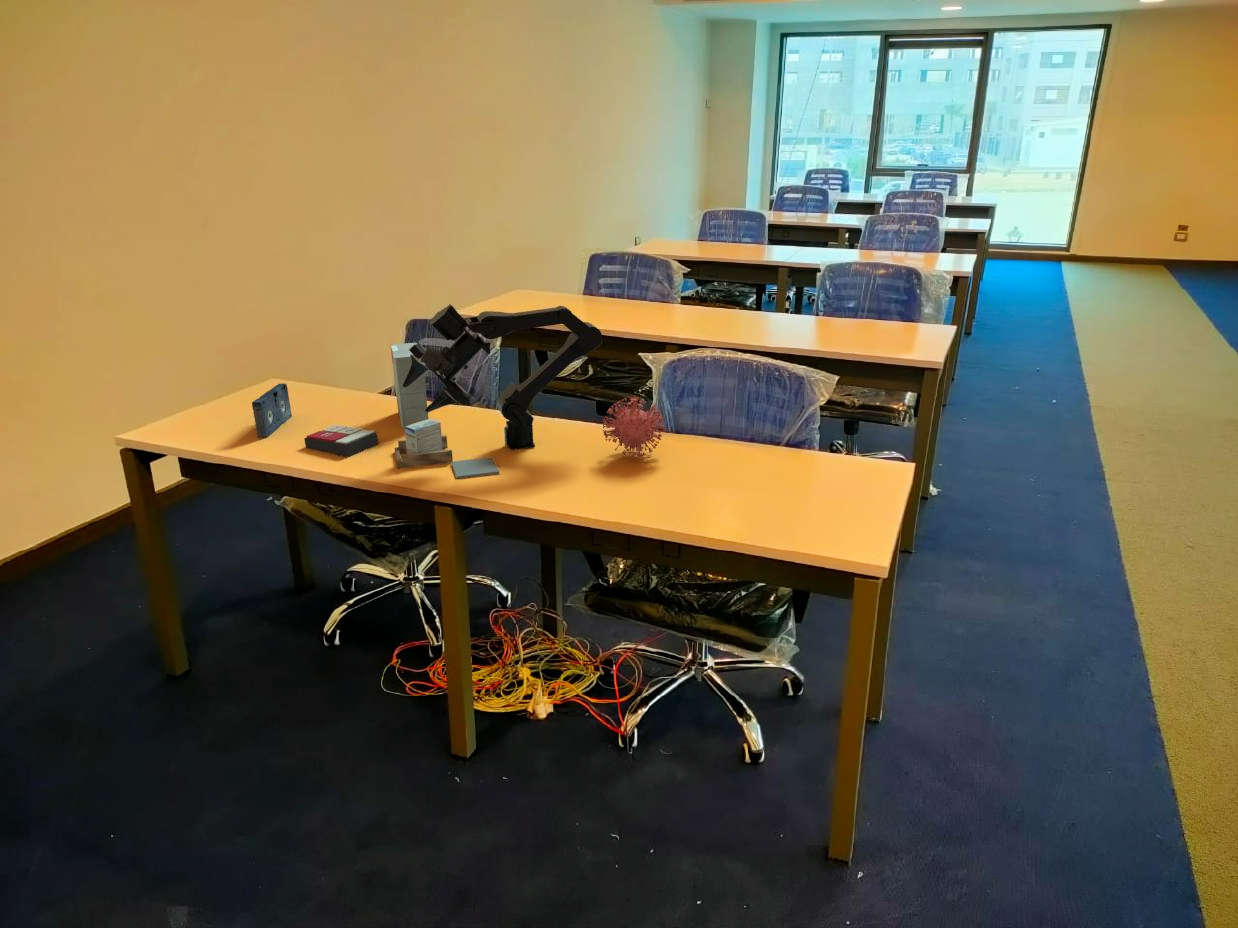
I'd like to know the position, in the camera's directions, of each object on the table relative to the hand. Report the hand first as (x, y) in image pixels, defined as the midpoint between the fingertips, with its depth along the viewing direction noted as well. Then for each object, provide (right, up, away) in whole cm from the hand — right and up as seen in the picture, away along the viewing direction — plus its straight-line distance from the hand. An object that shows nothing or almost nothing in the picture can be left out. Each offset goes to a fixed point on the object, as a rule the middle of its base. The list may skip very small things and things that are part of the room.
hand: (414, 399), depth 207 cm
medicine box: (+1, -14, +5) cm, 15 cm away
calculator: (-22, -12, +14) cm, 28 cm away
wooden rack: (+1, -14, +5) cm, 15 cm away
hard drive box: (-8, -3, +34) cm, 35 cm away
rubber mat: (+15, -17, -3) cm, 23 cm away
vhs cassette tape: (-45, -6, +28) cm, 53 cm away
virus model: (+53, -14, +4) cm, 55 cm away
